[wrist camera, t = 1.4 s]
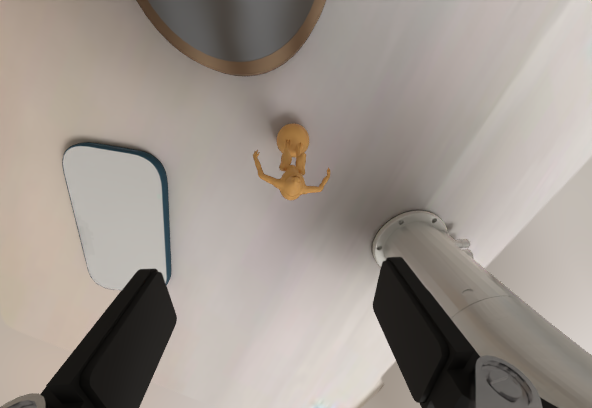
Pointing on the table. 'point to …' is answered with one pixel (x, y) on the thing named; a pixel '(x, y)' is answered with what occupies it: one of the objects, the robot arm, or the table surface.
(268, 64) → the walnut stand
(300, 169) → the figurine
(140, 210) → the external hard drive
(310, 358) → the table surface
